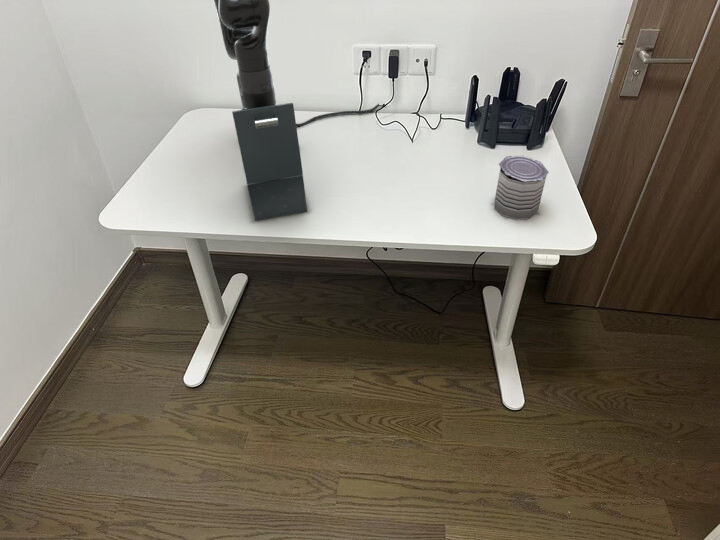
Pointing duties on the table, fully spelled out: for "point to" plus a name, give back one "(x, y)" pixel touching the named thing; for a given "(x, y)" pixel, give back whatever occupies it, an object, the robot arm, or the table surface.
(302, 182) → the bin
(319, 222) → the table surface
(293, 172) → the bin lid
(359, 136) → the table surface
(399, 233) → the table surface
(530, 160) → the can
